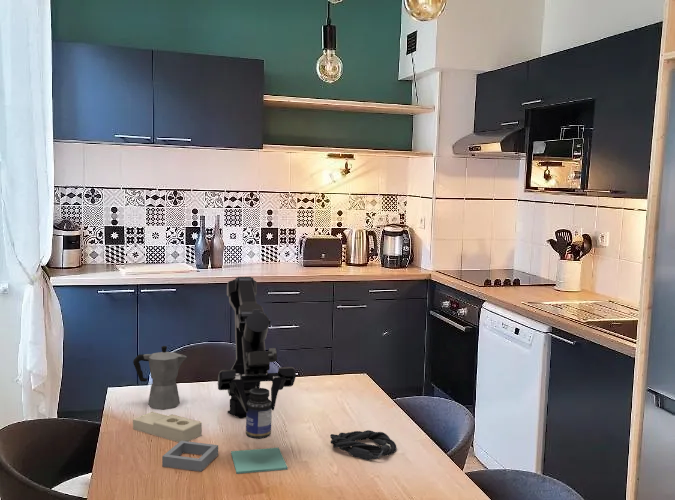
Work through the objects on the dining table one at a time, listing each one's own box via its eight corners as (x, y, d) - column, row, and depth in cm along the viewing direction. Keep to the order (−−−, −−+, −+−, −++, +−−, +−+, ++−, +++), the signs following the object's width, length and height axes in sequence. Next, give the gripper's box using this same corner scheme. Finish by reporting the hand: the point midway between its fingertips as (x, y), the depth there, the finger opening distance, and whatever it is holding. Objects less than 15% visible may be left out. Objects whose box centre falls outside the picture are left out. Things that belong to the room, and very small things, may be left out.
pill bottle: (241, 432, 161) (242, 388, 159) (264, 428, 164) (265, 385, 163) (252, 441, 156) (253, 396, 154) (275, 437, 159) (276, 392, 158)
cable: (319, 451, 168) (319, 434, 168) (344, 433, 180) (345, 418, 180) (380, 466, 160) (381, 449, 160) (402, 446, 172) (403, 430, 172)
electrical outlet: (152, 408, 184) (202, 421, 175) (152, 422, 185) (202, 436, 176) (132, 416, 178) (183, 429, 169) (133, 430, 178) (183, 445, 170)
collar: (181, 450, 165) (181, 440, 165) (218, 454, 163) (218, 445, 163) (162, 466, 156) (162, 456, 155) (201, 471, 154) (201, 461, 153)
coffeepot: (186, 398, 204) (186, 341, 202) (186, 409, 195) (186, 349, 193) (134, 400, 201) (134, 342, 199) (132, 411, 192) (131, 350, 190)
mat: (231, 453, 164) (231, 451, 164) (278, 449, 168) (278, 447, 168) (236, 473, 153) (236, 471, 153) (287, 469, 156) (287, 467, 156)
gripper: (219, 337, 159) (222, 397, 149) (295, 335, 163) (303, 392, 154) (216, 360, 167) (219, 418, 158) (288, 357, 172) (296, 413, 162)
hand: (259, 410), depth 158 cm, fingers closed on pill bottle, 6 cm apart
